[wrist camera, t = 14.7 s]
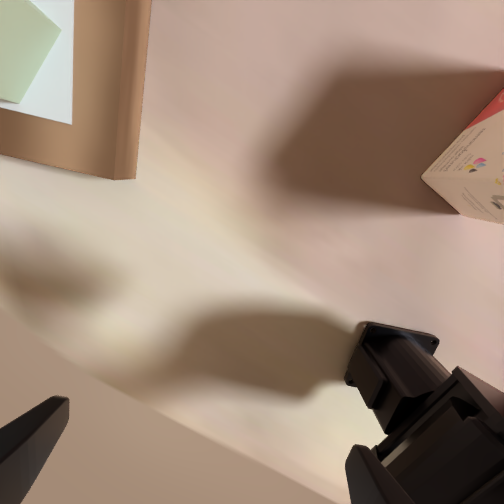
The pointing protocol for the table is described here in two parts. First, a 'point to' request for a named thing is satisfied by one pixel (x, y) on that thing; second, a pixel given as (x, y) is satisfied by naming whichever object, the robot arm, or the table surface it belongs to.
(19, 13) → the sage pillar
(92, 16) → the walnut base plate
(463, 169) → the ink cartridge box
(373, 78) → the table surface
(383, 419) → the robot arm
